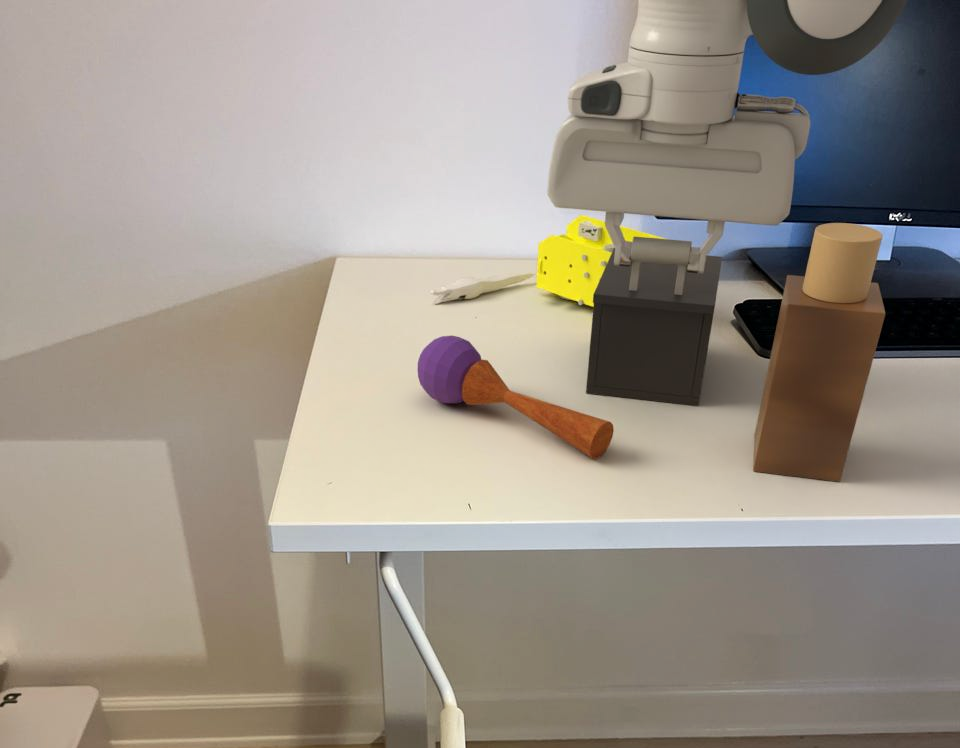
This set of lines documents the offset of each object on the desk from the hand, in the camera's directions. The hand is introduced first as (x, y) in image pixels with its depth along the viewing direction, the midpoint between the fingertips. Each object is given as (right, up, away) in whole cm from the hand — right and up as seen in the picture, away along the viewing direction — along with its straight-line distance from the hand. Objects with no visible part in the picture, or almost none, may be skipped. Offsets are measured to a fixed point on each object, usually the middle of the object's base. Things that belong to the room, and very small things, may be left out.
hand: (658, 268), depth 87 cm
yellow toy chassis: (-2, +5, +26) cm, 26 cm away
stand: (+11, -17, -3) cm, 21 cm away
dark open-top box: (+1, -6, +11) cm, 13 cm away
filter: (+11, -6, -11) cm, 17 cm away
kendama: (-13, -13, +2) cm, 19 cm away
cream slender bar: (-15, +8, +29) cm, 34 cm away
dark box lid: (+1, +1, +6) cm, 6 cm away
